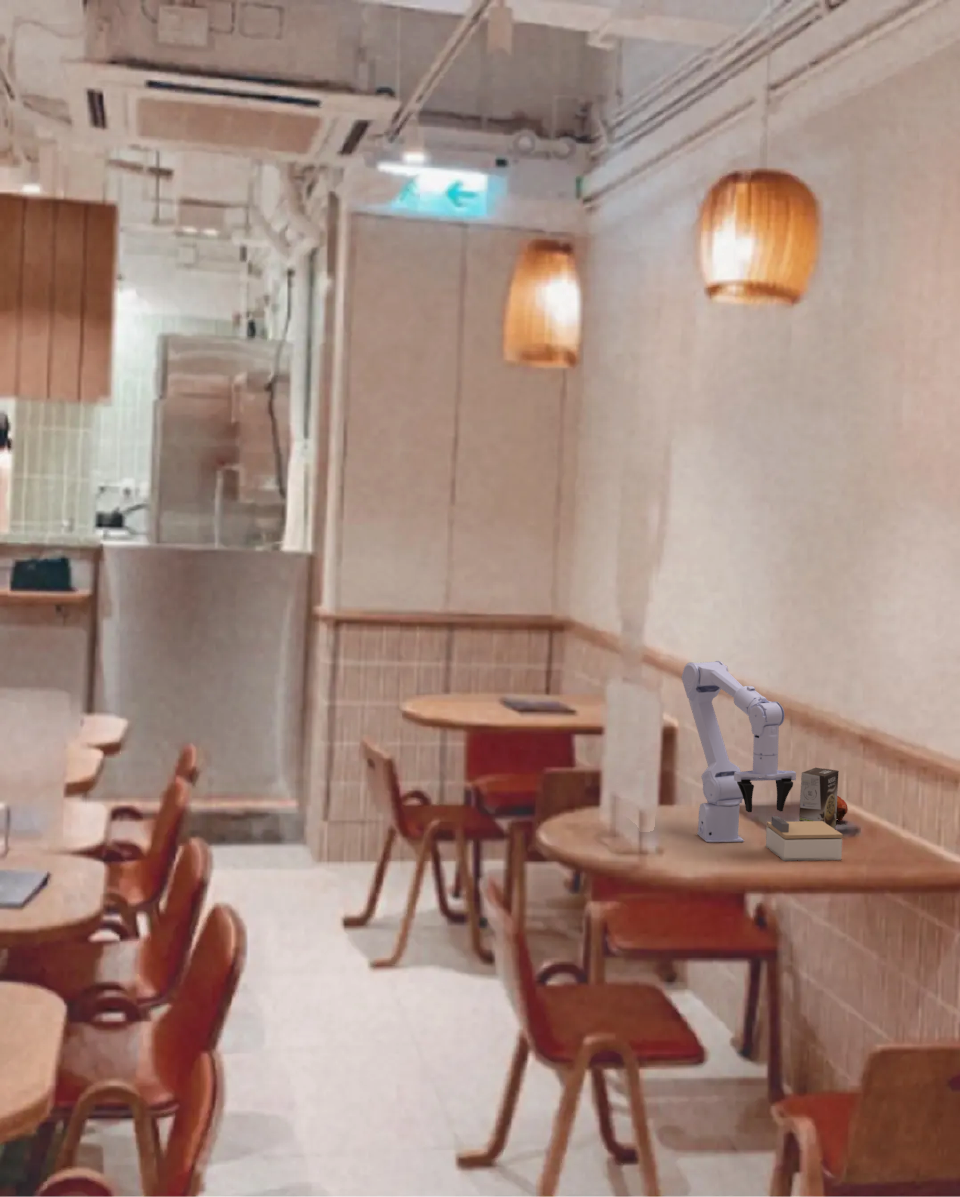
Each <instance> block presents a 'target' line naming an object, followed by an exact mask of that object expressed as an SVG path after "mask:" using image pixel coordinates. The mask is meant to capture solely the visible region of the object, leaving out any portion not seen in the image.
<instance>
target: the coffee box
mask: <svg viewBox="0 0 960 1197" xmlns="http://www.w3.org/2000/svg"><path fill="white" fill-rule="evenodd" d="M800 777H801V780H800V781H801V782H800V796H799V798H800V799H799V813H798V814H799V815H798V816H799V817H798V821H823V822H825V823H826V824H828V825H829V826H831V827H832V828H834V829H836V828H837V821H836V811H837V796H838V789H839V788H838V787H839V770H836V769H830V768H821V767H820V768H819V767H814V768H811V769H809V770H806V771H803V772H801V776H800ZM836 830H837V829H836Z"/></svg>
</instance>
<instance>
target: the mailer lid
mask: <svg viewBox="0 0 960 1197" xmlns="http://www.w3.org/2000/svg"><path fill="white" fill-rule="evenodd" d="M767 826H769V827H770V828H771V829H773V830H774V831H775V832H777V833H778V834H779V835H781V836H782V837H783V838H785V839H798V838H843V835H844V834H843V833H841V832H840V831H838V830H837V829H836V830H835V829H834V828H832V827H831V826H829V825H828V824H826V823H825V822H823V821H799V820H797V821H786V820H784V819H782V818H781V817H780V816H777V815H776V816H775V815H774V816H773V815H772V816H771V821H766V827H767Z"/></svg>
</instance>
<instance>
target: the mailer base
mask: <svg viewBox="0 0 960 1197" xmlns="http://www.w3.org/2000/svg"><path fill="white" fill-rule="evenodd" d="M765 831H766V834H765V835H766V836H765V847H766V849H768V848H769V849H770V850H769V849H768V850H769V851H771V853H773V854H774V855H776V856H777V855H778V856H779V857H780V858H779V857H778V856H777V857H778V858H779V859H781V861H783V862H801V861H804V862H809V861H811V862H812V861H841V860H842V857H843V856H842V852H843V851H842V849H843V839H842V838H843V837H842V838H798V839H785V838H783V837H782V836H781V835H779V834H778V833H777V832H775V831H774V830H773V829H771V828H770V827H769V826H767V825H766V830H765ZM797 860H798V861H797Z"/></svg>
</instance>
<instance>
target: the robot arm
mask: <svg viewBox="0 0 960 1197" xmlns="http://www.w3.org/2000/svg"><path fill="white" fill-rule="evenodd" d="M681 680H682V684H683V688H684V691H685V695H686V698H687V699H688V702H689V706H690V709H691V714H692V716H693V720H694V723H695V726H696V730H697V733H698V736H699V740H700V744H701V747H702V750H703V755H704V758H705V760H706V764H707V768H706V769H705V770H704V772H703V773H702V774H701V781H702V793H703V795H704V798H705V799H706V802H702V803H700V804H699V808H698V821H697V822H698V826H697V833H696V834H697V835H698V836H699V837H700V838H701V839H703V841H705V842H706V843H734V842H736V843H737V842H739V843H743V842H744V841H745V839H743V838H742V837H741V836H740V835H739V827H740V826H739V822H740V820H739V819H740V805H741V804H742V803H743V801H744V806H745V811H746V812H747V813H752V811H753V794H754V788H755V785H754V784H753V783H752V782H755V781H757V782H758V781H760V782H763V781H775V786H776V810H777V811H778V812H784V807H785V804H786V800H787V799H788V796H789V794H790V792H791V790H792V788H793V786H794V781H796V780H797V772H796V771H794V770H779V737H780V736H779V732H780V730H779V729H780V726H782V725H783V724H784V721H785V710H784V707H783V705H782V704H780V702H779V701H770V700H768V699H767V697H765V696H763V695H762V694H761V693H760V692H758V691H757V690H756V687H754V686H753V685H745V686H743V684H741V683H740V682H739V681H738V680H737V678H735V677H734V676H733V675H732V674H731V673H730V672H729V668H728V666H727V665H726V664H724V662H722V661H721V660H716V661H705V662H704V661H703V662H688V663H686V664H685V666H684V668H683V670H682V674H681ZM721 690H722V691H723V692H725V693H727V695H729V696H731V697H733V703H734V705H735V707H737V708H738V709H740V710H741V712H743V713H744V714H746V715H747V716H748V720H749V723H750V726H751V733H752V735H753V747H752V748H753V749H752V750H753V751H752V752H753V754H752V755H753V756H752V759H753V760H752V770H746V771H741V768H740V767H739V766H738V765H736V764H735V763H733V762H731V761H730V758H729V756H728V751H727V749H726V748H727V747H726V744H725V742H724V739H723V736H722V732H721V728H720V725H719V722H718V719H717V716H716V712H715V709H714V706H713V700H714V699H715V698H716V697H717V696H718V695H719V694H720V692H721Z"/></svg>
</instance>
